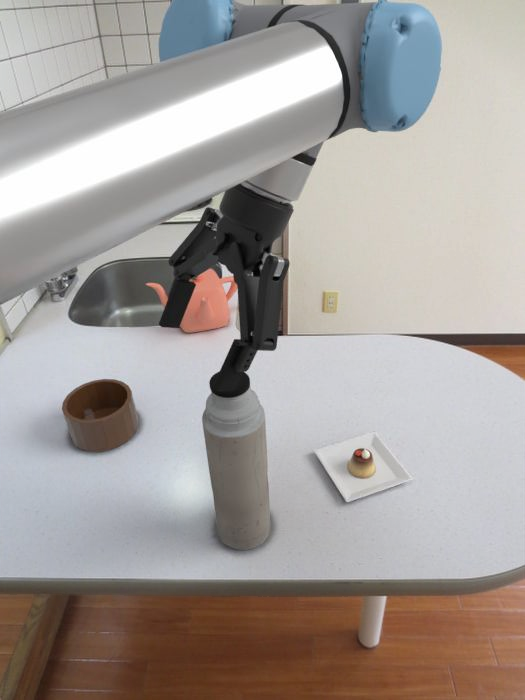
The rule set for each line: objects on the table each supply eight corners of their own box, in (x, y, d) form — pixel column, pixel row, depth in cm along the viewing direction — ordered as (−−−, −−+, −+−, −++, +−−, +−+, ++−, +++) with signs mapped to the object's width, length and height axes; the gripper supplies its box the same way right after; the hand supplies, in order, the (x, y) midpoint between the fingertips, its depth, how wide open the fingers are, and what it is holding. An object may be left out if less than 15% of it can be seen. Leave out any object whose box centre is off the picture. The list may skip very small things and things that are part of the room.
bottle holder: (95, 462, 91) (86, 433, 87) (59, 431, 98) (48, 402, 94) (151, 425, 98) (145, 396, 94) (113, 399, 105) (106, 371, 101)
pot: (150, 325, 128) (141, 279, 121) (193, 294, 140) (187, 251, 133) (211, 345, 120) (205, 297, 113) (251, 311, 132) (249, 265, 125)
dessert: (313, 454, 90) (313, 434, 88) (374, 435, 94) (376, 415, 91) (346, 507, 81) (348, 486, 78) (413, 483, 84) (416, 462, 82)
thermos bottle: (263, 500, 83) (254, 355, 67) (276, 543, 76) (270, 393, 61) (213, 512, 81) (192, 366, 66) (222, 556, 75) (202, 406, 59)
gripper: (365, 247, 51) (275, 418, 59) (229, 160, 66) (172, 306, 74) (314, 233, 46) (223, 423, 54) (179, 142, 61) (124, 301, 69)
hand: (194, 355), depth 64 cm, fingers open, 13 cm apart
